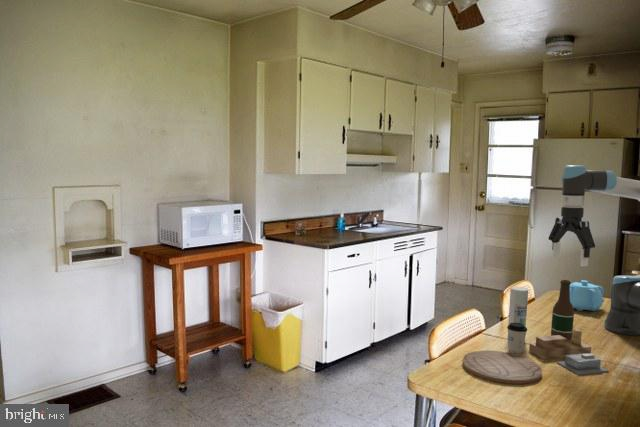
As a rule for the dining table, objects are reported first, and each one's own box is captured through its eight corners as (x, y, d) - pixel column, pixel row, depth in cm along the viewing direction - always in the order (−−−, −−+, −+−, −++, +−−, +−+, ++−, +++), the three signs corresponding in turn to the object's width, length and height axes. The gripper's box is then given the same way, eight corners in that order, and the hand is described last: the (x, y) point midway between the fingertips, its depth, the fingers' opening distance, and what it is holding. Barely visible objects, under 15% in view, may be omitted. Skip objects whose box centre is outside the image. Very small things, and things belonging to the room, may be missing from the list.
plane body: (574, 347, 193) (576, 326, 192) (590, 354, 186) (592, 333, 185) (529, 351, 188) (530, 329, 187) (544, 359, 180) (545, 337, 179)
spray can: (517, 335, 206) (520, 286, 204) (528, 340, 199) (532, 290, 197) (503, 336, 204) (506, 287, 202) (514, 341, 197) (518, 291, 195)
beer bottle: (574, 345, 195) (579, 283, 193) (552, 343, 197) (557, 282, 195) (569, 338, 203) (573, 279, 201) (548, 336, 205) (552, 277, 202)
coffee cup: (525, 349, 190) (527, 323, 189) (526, 355, 183) (528, 328, 182) (505, 346, 192) (507, 320, 191) (505, 353, 185) (507, 326, 184)
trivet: (513, 353, 186) (513, 348, 186) (558, 383, 162) (559, 377, 161) (449, 357, 181) (449, 352, 180) (487, 388, 156) (487, 382, 156)
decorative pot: (572, 302, 259) (574, 275, 257) (606, 309, 247) (609, 281, 245) (558, 307, 248) (559, 279, 247) (593, 315, 236) (595, 286, 235)
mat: (585, 360, 180) (585, 359, 180) (608, 371, 171) (608, 370, 171) (556, 363, 177) (557, 361, 177) (578, 375, 167) (578, 373, 167)
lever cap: (586, 361, 178) (587, 351, 177) (600, 368, 172) (601, 357, 172) (564, 363, 175) (565, 352, 175) (577, 370, 170) (578, 359, 169)
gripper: (540, 204, 202) (537, 257, 204) (591, 210, 179) (588, 269, 181) (555, 203, 205) (553, 256, 207) (608, 209, 181) (604, 268, 183)
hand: (569, 262), depth 194 cm, fingers open, 13 cm apart
